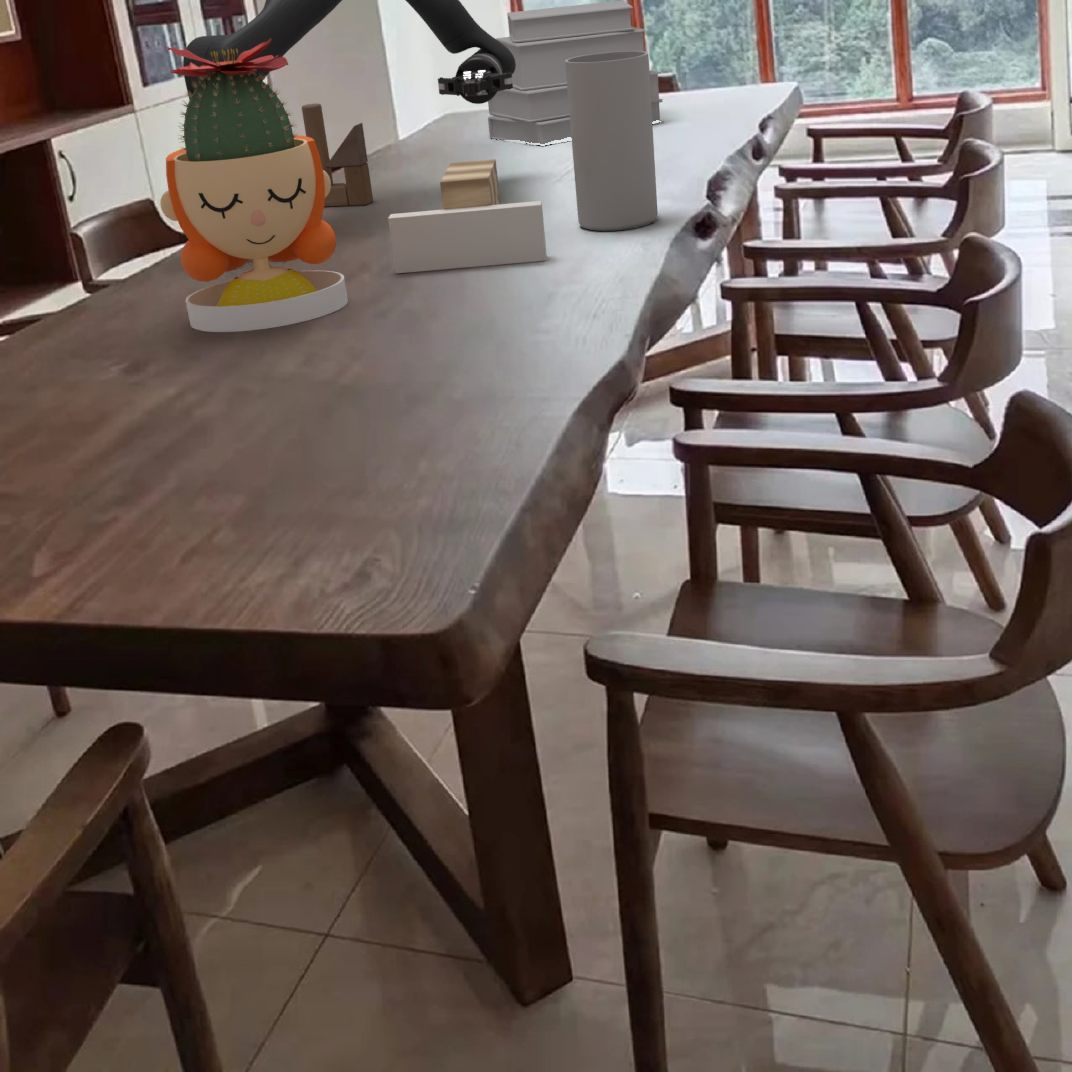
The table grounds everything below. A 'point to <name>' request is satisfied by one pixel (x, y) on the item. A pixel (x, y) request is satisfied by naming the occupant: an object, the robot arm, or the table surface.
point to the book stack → (557, 66)
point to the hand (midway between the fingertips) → (470, 88)
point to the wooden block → (341, 160)
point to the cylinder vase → (612, 140)
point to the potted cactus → (249, 201)
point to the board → (468, 237)
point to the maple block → (470, 184)
